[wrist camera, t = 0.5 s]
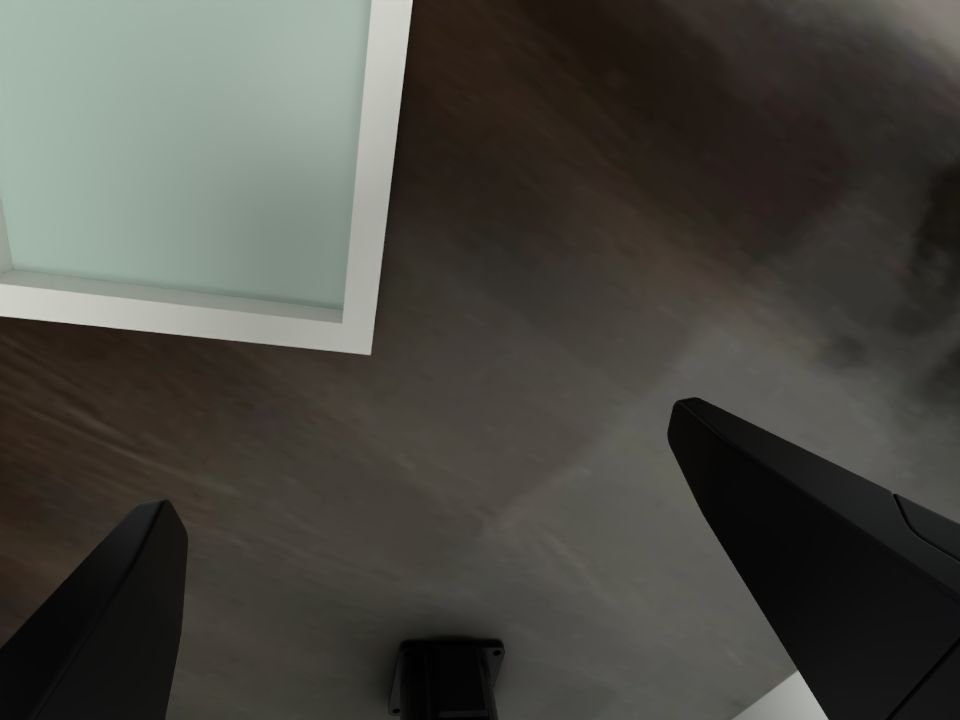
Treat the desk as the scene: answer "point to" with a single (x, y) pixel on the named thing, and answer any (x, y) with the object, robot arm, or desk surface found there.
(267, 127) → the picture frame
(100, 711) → the robot arm
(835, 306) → the desk surface
